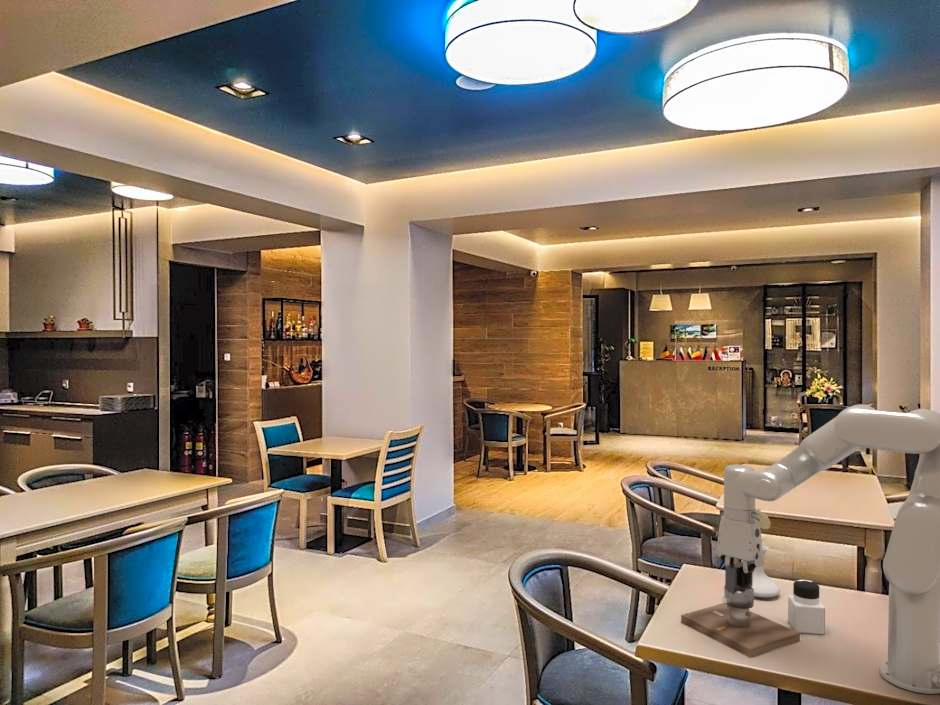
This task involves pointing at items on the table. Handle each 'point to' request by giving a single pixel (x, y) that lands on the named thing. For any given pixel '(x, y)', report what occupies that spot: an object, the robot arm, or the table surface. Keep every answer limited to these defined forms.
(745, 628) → the brown wooden board
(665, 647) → the table surface
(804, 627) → the medicine bottle
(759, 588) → the flower in vase
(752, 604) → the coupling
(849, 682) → the table surface
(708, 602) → the table surface
